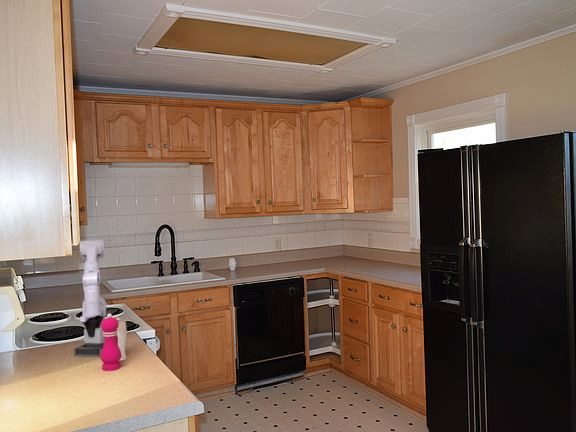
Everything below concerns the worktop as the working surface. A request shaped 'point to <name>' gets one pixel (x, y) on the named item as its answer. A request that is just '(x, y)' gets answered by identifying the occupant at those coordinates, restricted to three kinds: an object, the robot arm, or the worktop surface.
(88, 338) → the panel
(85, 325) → the robot arm
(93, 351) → the rack
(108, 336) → the pepper mill
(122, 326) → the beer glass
